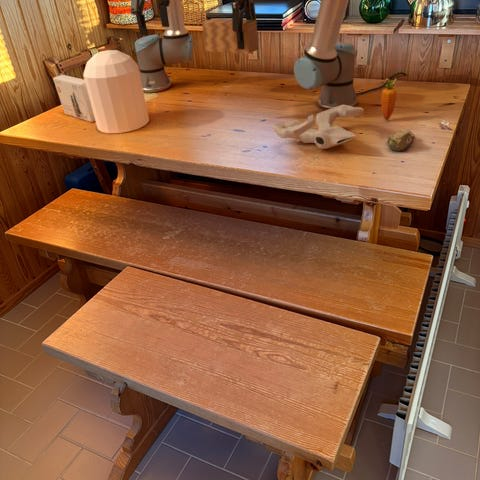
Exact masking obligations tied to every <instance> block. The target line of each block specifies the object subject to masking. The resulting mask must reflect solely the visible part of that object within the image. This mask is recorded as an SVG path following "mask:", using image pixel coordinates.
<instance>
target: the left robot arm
mask: <svg viewBox="0 0 480 480" xmlns="http://www.w3.org/2000/svg"><path fill="white" fill-rule="evenodd" d="M156 2H157V3H158V5H159V6H158V10H159V17H160V22H161V27H162V28H165V29H164V32H163V33H162V36H163V37H160V35H159V34H148V32H149V31H148V27H147V22H146V16H145V14H144V8H145V4H146V0H130V14H132V15H134V16H135V18H136V23H137V26H138V30H139V35H140V36H142V37H140V38H138V39H137V40H135V42H134V49H135V55H136V59H137V65H138V67H139V72H140V77H141V82H142V87H143V92H144V94H145V93H146V94H152V93H160V92H165V91H166V90H169V89H170V88H171V87H172V82H171V79H170V78H169V75H168V74H167V71H166V69H165V66H167V65H168V66H169V65H179V64H182V65H183V64H188V63H192V61H193V59H194V58H193V57H194V37H193V35H191V34H190V33H189V30H188V29H187V28H186V27H185V21H184V15H183V7H182V0H156Z"/></svg>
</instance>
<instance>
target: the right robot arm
mask: <svg viewBox="0 0 480 480" xmlns="http://www.w3.org/2000/svg"><path fill="white" fill-rule="evenodd" d="M348 4H349V0H320V4H319V8H318V11H317V16H316V19H315V24H314V28H313V32H312V36H311V40H310V42H309V43H307V44H306V45H305V47H304V50H303V55H302V57H300V58H298V59H297V60H296V61H295V63H294V66H293V75H294V78H295V79H296V81H297V83H298V85H299V86H300V87H302V88H303V89H305V90H308V91H312V90H316V89H319V88H321V89H320V92H319V95H318V98H317V106H318V107H319V108H320V109H323V110H325V111H326V110H329V109H332V108H334V107H338V106H341V105H348V106H352V107H357V105H358V97H357V96H359V95H363V94H366V93H369V92H373V91H376V90H380V89H382V88H385V87H386V85H387V83H386V82H385V83H384V84H383V85H380V86H377V87H374V88H371V89H368V90H363V91H360V92H356V90H355V85H354V77H355V61H356V60H355V59H356V46H355V45H354V44H353V43H350V42H343V41H341V42H340V41H338V38H339V35H340V31H341V27H342V24H343V21H344V18H345V14H346V12H347V7H348ZM230 5H231V12H232V13H231V15H232V17H231V19H232V28H233V31H234V32H236V35H237V46H238V49H244V35H243V31H242V24H243V20H244V17H245V20H257V14H256V6H255V0H235V1H234V2H231V4H230ZM399 75H403V76H407V74H406V73H405V72H397V73H394V74H393V75H390V76H388V77H387V79H390V80H391V79H392V78H394V77H396V76H399Z"/></svg>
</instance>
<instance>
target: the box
mask: <svg viewBox="0 0 480 480" xmlns="http://www.w3.org/2000/svg"><path fill="white" fill-rule="evenodd" d="M201 24H202V25H201V26H202V32H203V44H204V50H205V52H215V53H228V54H229V53H230V54H243V55H244V54H246V55H250V54H251V53H254V52H256V51H258V50H259V41H258V25H257V19H256V20H246V19H243V24H242V31H243V35H244V49H238V46H237V35H236V32H234V31H233V28H232V18H210V19H208V20H204V21H202V22H201Z"/></svg>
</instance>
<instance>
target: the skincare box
mask: <svg viewBox="0 0 480 480" xmlns="http://www.w3.org/2000/svg"><path fill="white" fill-rule="evenodd" d="M52 79H53V83H54V85H55V89H56V92H57V94H58V97H59V101H60V104H61V106H62V110H63V112H64V114H65V115H67V116H71V117H74V118H77V119H80V120H83V121H87V122H90V123H94V122H96V121H95V117H94V113H93V110H92V106H91V102H90V98H89V95H88V91H87V87H86V84H85V80H84V78H78V77H74V76H70V75H66V74H60V75H58V76H54V77H52Z"/></svg>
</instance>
